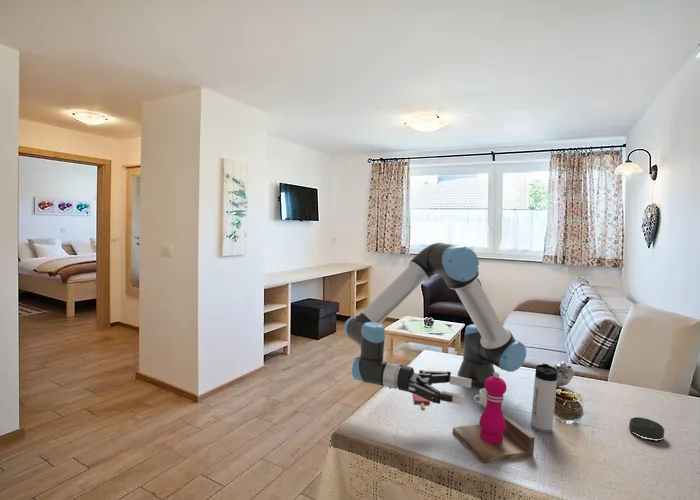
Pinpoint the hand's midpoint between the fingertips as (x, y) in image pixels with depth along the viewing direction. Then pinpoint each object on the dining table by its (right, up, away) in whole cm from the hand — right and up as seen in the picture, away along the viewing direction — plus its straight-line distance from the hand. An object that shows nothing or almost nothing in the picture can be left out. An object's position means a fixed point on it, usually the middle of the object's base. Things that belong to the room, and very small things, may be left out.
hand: (468, 391), depth 121 cm
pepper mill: (+6, -13, -2) cm, 15 cm away
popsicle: (-10, -12, +25) cm, 30 cm away
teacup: (+13, -13, +22) cm, 29 cm away
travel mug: (+26, -15, +9) cm, 31 cm away
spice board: (+6, -15, -2) cm, 16 cm away
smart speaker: (+58, -17, +8) cm, 61 cm away
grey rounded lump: (+49, -13, +42) cm, 66 cm away
